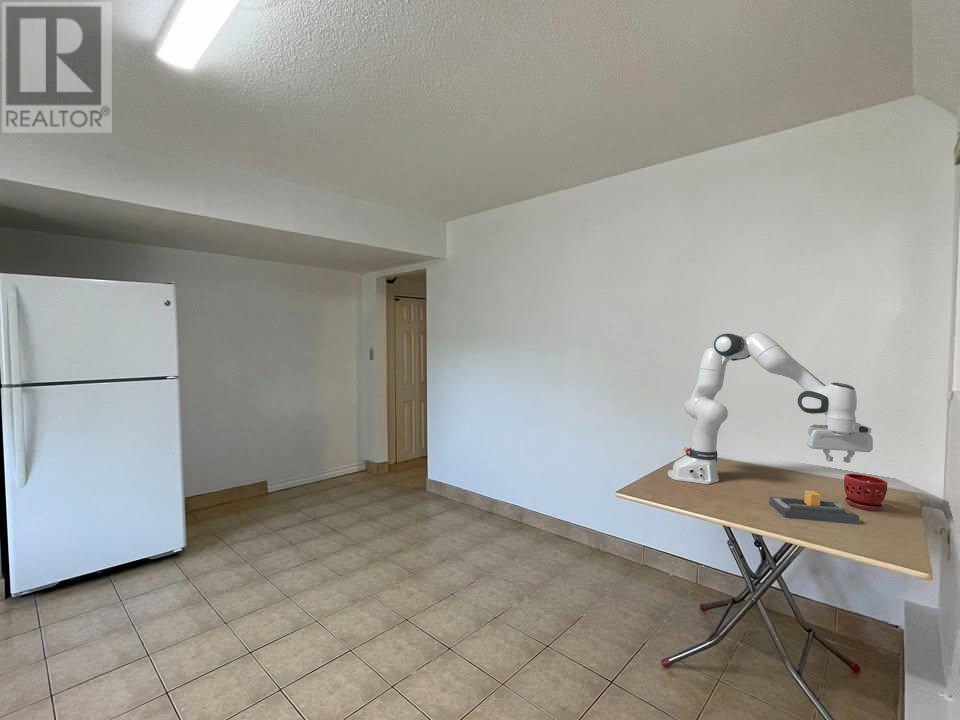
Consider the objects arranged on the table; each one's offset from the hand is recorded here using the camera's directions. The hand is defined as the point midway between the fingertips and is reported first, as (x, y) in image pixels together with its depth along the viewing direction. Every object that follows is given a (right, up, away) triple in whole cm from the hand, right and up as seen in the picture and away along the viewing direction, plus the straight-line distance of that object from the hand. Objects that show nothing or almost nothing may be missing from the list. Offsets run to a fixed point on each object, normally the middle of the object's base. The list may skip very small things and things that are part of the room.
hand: (838, 461), depth 166 cm
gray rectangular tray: (-8, -21, +3) cm, 23 cm away
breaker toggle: (-8, -18, +3) cm, 20 cm away
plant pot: (+19, -21, +11) cm, 31 cm away
